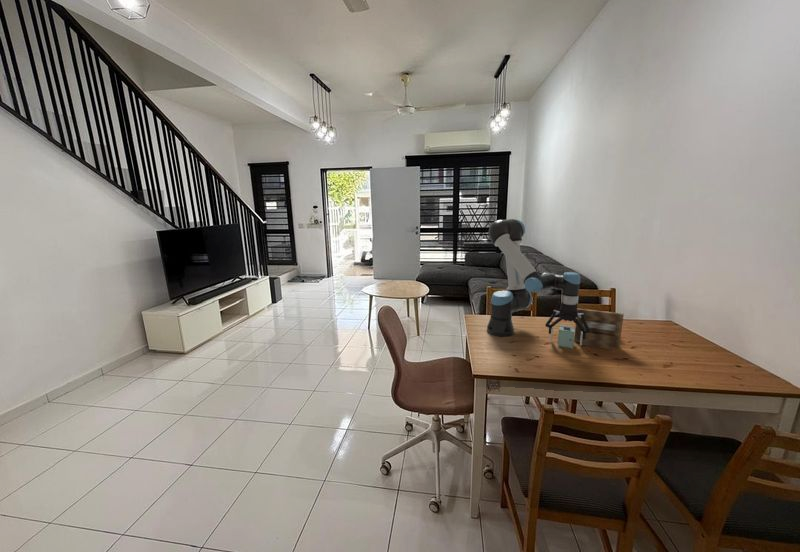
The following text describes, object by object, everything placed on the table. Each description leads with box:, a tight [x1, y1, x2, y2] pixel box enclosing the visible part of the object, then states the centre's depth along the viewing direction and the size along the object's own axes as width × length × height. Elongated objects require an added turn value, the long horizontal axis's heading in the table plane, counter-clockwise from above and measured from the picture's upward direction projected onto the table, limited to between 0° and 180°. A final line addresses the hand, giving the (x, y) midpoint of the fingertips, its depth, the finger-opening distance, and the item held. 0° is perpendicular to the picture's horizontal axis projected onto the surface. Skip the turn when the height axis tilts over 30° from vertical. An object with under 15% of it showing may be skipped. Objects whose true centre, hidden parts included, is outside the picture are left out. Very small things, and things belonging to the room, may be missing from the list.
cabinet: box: [557, 324, 575, 350], centre depth 165 cm, size 7×9×10 cm
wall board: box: [574, 307, 624, 351], centre depth 164 cm, size 20×8×18 cm, turn 61°
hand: (565, 342), depth 165 cm, fingers open, 13 cm apart
